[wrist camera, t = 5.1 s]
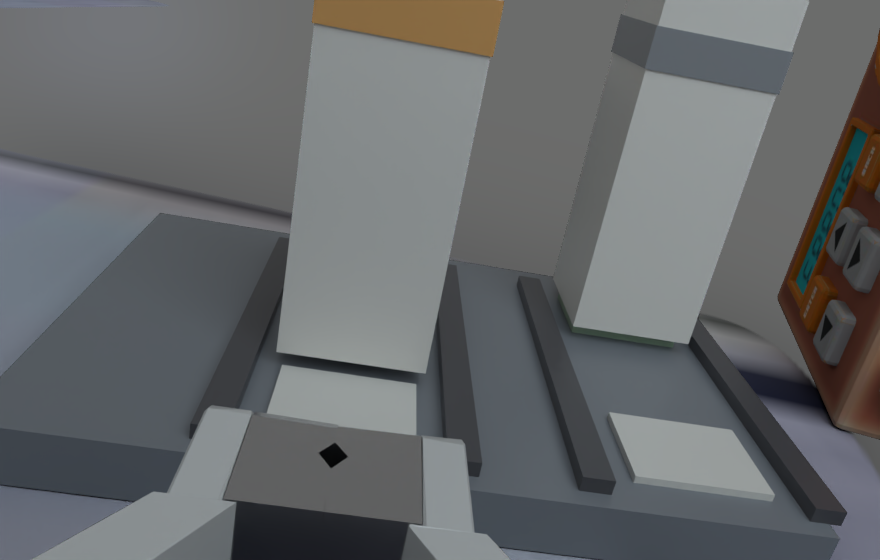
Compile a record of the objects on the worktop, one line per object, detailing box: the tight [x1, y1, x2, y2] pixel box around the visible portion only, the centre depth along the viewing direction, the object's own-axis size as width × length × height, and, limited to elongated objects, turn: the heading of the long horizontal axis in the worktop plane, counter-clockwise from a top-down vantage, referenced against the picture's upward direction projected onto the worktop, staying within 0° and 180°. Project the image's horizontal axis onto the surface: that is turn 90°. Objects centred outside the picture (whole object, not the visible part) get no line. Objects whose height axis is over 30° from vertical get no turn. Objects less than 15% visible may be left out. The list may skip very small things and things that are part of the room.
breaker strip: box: [0, 0, 847, 560], centre depth 22 cm, size 20×14×13 cm
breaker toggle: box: [276, 0, 504, 374], centre depth 20 cm, size 4×4×11 cm
